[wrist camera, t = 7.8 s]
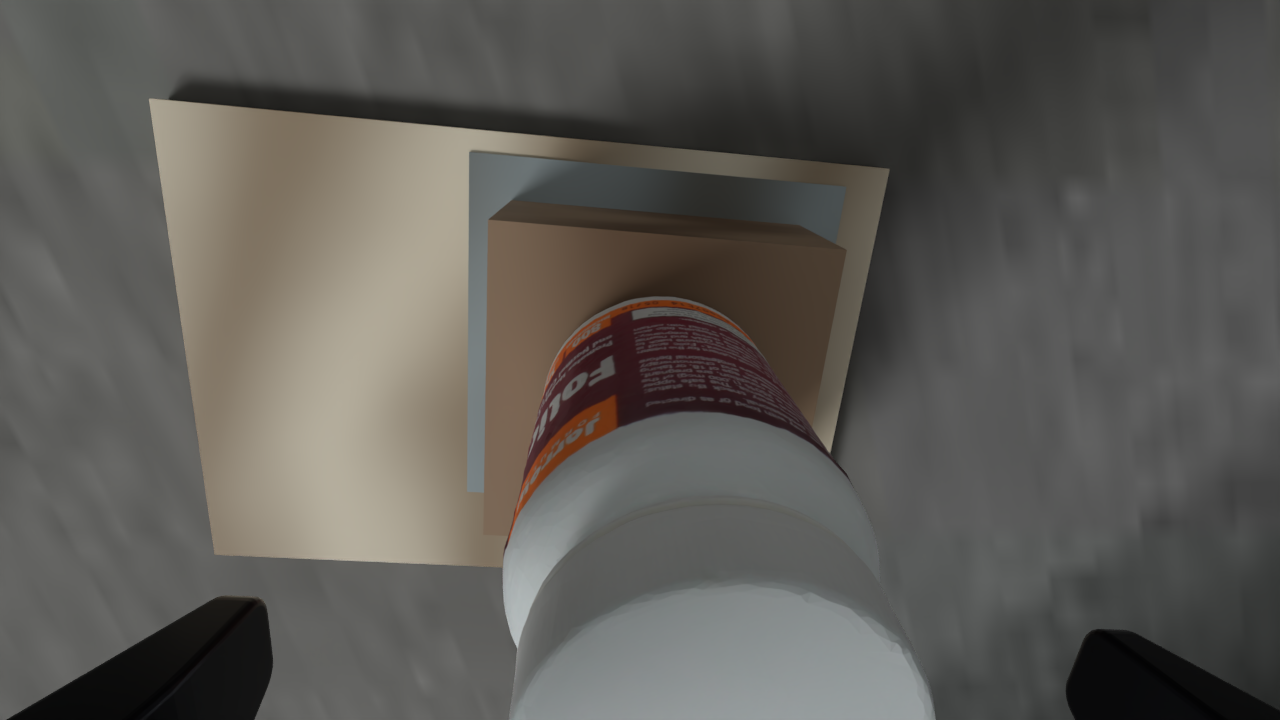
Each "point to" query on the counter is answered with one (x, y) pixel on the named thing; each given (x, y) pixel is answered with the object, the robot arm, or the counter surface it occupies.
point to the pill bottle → (692, 541)
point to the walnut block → (628, 269)
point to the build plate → (405, 306)
